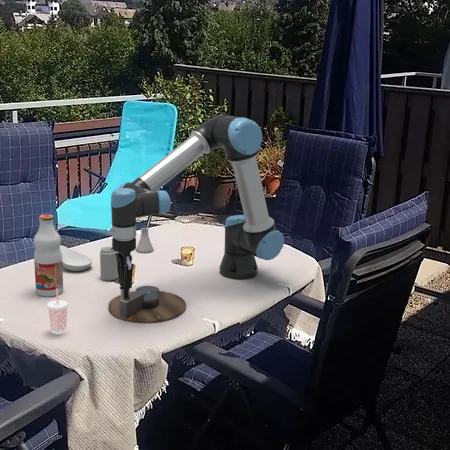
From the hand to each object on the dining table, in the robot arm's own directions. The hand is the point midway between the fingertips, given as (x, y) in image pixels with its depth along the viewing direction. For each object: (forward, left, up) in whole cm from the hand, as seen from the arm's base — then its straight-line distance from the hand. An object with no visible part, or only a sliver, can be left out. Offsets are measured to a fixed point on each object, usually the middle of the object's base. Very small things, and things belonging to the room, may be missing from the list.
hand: (125, 305), depth 206 cm
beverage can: (-4, -34, -3) cm, 34 cm away
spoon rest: (+8, -54, -3) cm, 55 cm away
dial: (-5, 0, -2) cm, 5 cm away
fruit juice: (+19, -28, -3) cm, 34 cm away
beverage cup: (+22, +5, -3) cm, 23 cm away
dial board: (-9, -3, -3) cm, 9 cm away
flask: (-27, -62, -3) cm, 67 cm away
